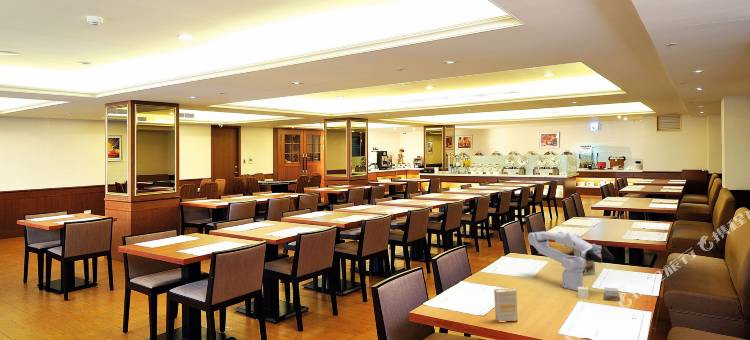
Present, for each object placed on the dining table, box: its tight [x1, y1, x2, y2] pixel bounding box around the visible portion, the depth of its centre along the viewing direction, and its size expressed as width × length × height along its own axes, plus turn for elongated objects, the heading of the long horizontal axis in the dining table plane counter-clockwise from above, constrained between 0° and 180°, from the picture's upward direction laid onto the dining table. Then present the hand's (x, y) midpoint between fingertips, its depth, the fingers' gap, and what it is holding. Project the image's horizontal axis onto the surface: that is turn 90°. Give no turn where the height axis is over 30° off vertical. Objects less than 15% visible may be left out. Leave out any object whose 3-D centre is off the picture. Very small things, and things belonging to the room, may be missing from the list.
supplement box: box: [493, 287, 518, 322], centre depth 204 cm, size 8×5×13 cm, turn 92°
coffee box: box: [573, 248, 596, 276], centre depth 279 cm, size 9×6×16 cm
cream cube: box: [577, 286, 589, 300], centre depth 234 cm, size 4×4×4 cm
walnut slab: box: [603, 291, 621, 302], centre depth 230 cm, size 6×6×2 cm
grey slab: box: [604, 287, 620, 297], centre depth 230 cm, size 6×6×2 cm
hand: (607, 259), depth 232 cm, fingers open, 7 cm apart
